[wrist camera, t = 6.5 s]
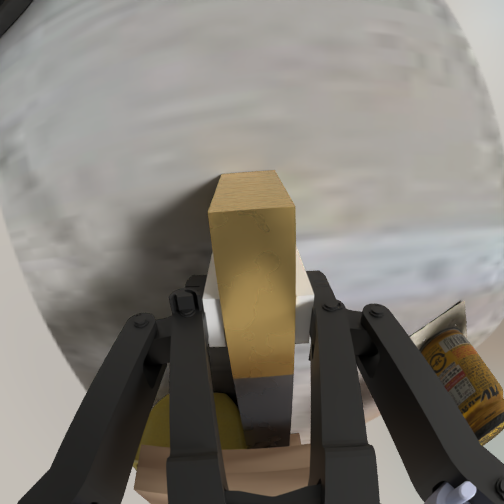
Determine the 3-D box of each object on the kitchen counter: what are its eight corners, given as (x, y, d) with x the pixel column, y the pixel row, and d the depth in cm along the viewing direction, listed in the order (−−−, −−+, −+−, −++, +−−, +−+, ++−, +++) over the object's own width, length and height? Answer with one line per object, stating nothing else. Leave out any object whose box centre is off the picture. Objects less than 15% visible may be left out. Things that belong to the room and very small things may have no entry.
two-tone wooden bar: (221, 174, 16) (207, 213, 10) (274, 170, 16) (295, 206, 10) (253, 432, 28) (255, 486, 22) (280, 430, 28) (286, 484, 22)
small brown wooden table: (165, 336, 21) (133, 489, 10) (321, 331, 22) (370, 478, 11) (196, 442, 29) (193, 534, 18) (297, 438, 30) (313, 529, 19)
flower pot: (164, 423, 27) (155, 494, 19) (147, 374, 23) (127, 462, 15) (245, 426, 28) (249, 500, 20) (247, 378, 24) (252, 471, 16)
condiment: (415, 380, 27) (457, 465, 16) (401, 340, 23) (459, 446, 13) (466, 345, 25) (517, 420, 14) (462, 298, 22) (535, 385, 11)
